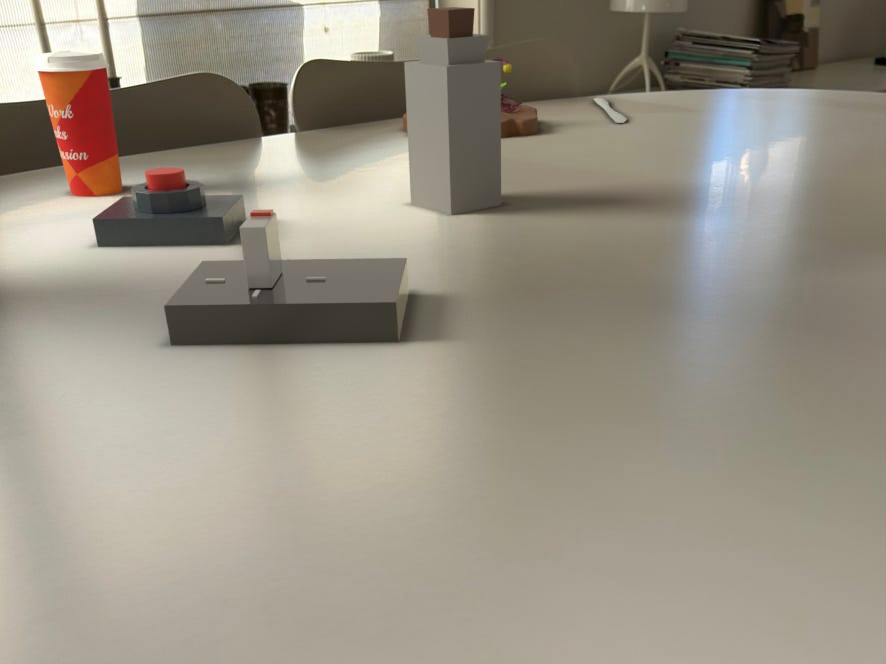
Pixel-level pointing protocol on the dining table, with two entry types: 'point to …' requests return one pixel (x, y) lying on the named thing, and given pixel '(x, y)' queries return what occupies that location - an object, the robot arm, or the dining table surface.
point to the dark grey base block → (291, 303)
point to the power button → (165, 179)
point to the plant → (510, 113)
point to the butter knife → (610, 110)
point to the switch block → (170, 218)
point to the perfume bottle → (453, 116)
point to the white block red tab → (261, 249)
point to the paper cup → (82, 119)
